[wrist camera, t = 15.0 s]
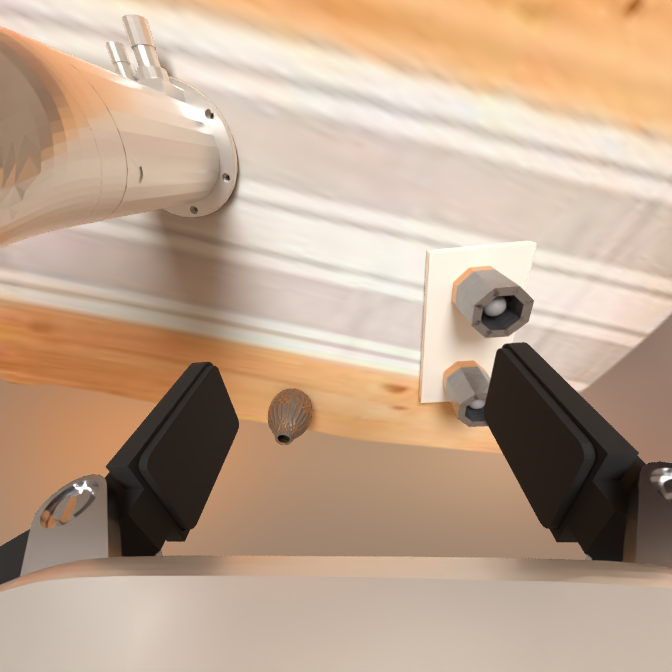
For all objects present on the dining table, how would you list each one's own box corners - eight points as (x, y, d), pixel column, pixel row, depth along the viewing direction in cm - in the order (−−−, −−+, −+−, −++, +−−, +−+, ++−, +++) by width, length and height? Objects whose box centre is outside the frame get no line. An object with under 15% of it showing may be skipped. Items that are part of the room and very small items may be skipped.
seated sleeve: (444, 362, 41) (460, 394, 35) (486, 359, 41) (509, 392, 35) (441, 392, 44) (455, 427, 38) (480, 390, 43) (500, 425, 37)
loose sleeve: (454, 268, 34) (476, 289, 28) (504, 264, 34) (538, 284, 28) (450, 311, 37) (469, 339, 31) (496, 308, 36) (524, 335, 30)
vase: (294, 375, 46) (283, 415, 38) (322, 400, 48) (317, 443, 41) (265, 394, 48) (249, 436, 41) (293, 417, 51) (283, 461, 43)
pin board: (426, 250, 35) (444, 269, 28) (529, 240, 34) (573, 257, 27) (418, 396, 47) (430, 433, 40) (494, 393, 46) (518, 430, 39)
